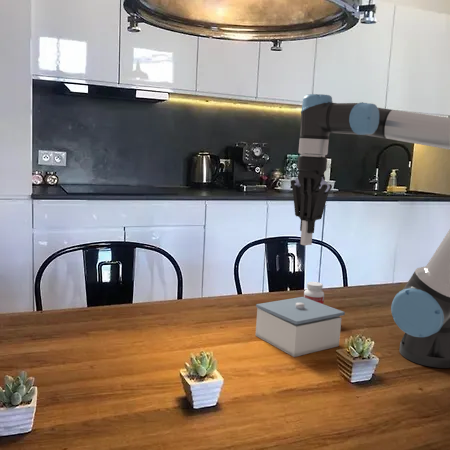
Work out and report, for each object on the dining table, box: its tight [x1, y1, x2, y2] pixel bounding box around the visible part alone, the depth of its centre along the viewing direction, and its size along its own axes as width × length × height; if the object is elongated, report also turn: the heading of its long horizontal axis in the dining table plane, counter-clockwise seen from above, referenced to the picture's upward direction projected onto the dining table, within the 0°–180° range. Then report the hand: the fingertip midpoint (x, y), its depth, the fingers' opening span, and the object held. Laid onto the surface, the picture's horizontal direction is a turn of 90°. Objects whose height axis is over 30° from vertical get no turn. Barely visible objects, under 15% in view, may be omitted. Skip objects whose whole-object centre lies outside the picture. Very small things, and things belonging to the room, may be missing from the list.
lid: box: [255, 296, 346, 325], centre depth 143 cm, size 16×17×2 cm
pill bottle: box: [303, 281, 325, 305], centre depth 163 cm, size 6×6×11 cm
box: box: [255, 307, 342, 358], centre depth 144 cm, size 16×16×8 cm
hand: (306, 244), depth 142 cm, fingers closed
